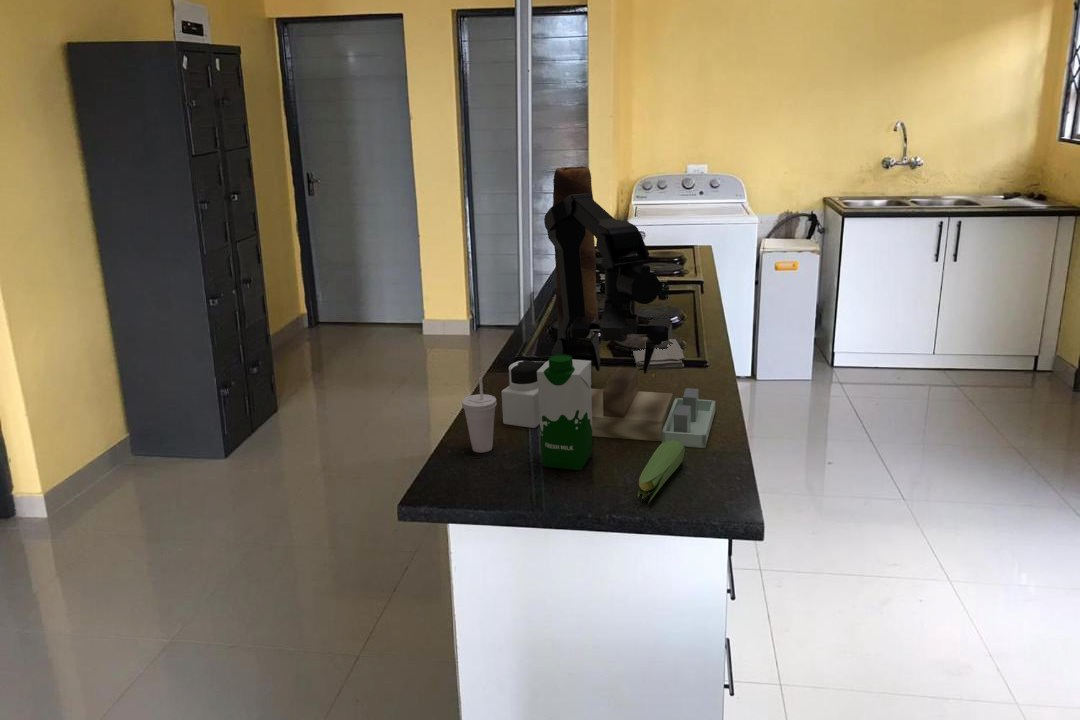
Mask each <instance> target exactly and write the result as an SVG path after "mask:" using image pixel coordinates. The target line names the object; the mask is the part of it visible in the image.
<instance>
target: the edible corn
mask: <svg viewBox="0 0 1080 720" xmlns="http://www.w3.org/2000/svg"><path fill="white" fill-rule="evenodd" d="M685 449H686V448H685V446H683V444H682V443H681V442H679V441H676V440H668V441H666V442H663V443H662V442H661V443H660V444H659V446H658V447H657V448H656V449H655V451H654V453H653V454H652V456H650V458H649V460H648V462H647V463H646V465H645V467H644V468H643V470H642V472H641V474H640V476H639V480H638V485H639V487H638V491H637V498H638V497H639V496H640V494H642V495H641V496H640V497H641V500H642V499H643V498H644V497H645V496H646V495H647V494H648V492H649V493H651V492H652V491H653V493H652V494H651V495H650V496H649V497H648V503H651V501H652V500H653V498H654V497H655V496H656V495H657V493H658V492H659V490H660V489H662V487H663V485H664V484H665V483H666V482H667V480H668V479H669V478H670V477H672V475H673V474H674V472H675V471H677V469H678V468H679V466H680V465H681V464H682V462H683V460H684V457H685V456H684V455H685V453H686V451H685ZM640 497H639V498H640Z"/></svg>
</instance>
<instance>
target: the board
mask: <svg viewBox="0 0 1080 720" xmlns="http://www.w3.org/2000/svg"><path fill="white" fill-rule="evenodd" d="M604 389H605V388H591V395H592V437H598V438H613V439H624V440H637V441H638V440H639V441H652V442H662V430H663V428H664V425H665V423H666V420H667V418H668V415H669V413H670V410H671V408H672V405H673V403H674V393H670V392H654V391H639V390H638V393H637V395H636V397H635V398H634V400H633V402H632V404H631V406H630V408H629V410H628V412H627V414H626V416H625V417H624V418H619V417H605V416H603V391H604Z"/></svg>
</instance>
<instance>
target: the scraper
mask: <svg viewBox="0 0 1080 720" xmlns="http://www.w3.org/2000/svg"><path fill="white" fill-rule="evenodd" d="M638 370H639V369H636V368H629V367H627V368H626V367H617V368H616V370H615V371H614V374H612V376H611V378H610V380H609V381H608V383H607V385H606V386H605V388H603V389H604V391H603V416H605V417H619V418H624V417H625V416H626V414H627V412H628V410H629V408H630V406H631V404H632V402H633V400H634V398H635V397H636V395H637V393H638V391H639V389H638V388H639V386H638V385H639V384H638V383H639V382H638V381H639V379H638V377H639V375H638V374H639V373H638Z"/></svg>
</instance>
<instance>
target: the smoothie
mask: <svg viewBox="0 0 1080 720" xmlns="http://www.w3.org/2000/svg"><path fill="white" fill-rule="evenodd" d="M478 382H479V394H472V395H468V396H466V397H464V398H463V399H462V400H461V403H462V404H461V407H462V409H464V410H463V411H464V414H465V420H466V423H467V429H468V435H469V439H470V443H471V449H472V451H473V452H474V453H486V452H489V451H491V450H492V449H493V441H494V430H495V428H494V426H495V412H496V411H495V410H496V406H497V398H496V396H494V395H491V394H487V393H486V394H485V393H484V388H483V387H484V385H483V384H484V383H483V377H479V378H478Z"/></svg>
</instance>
